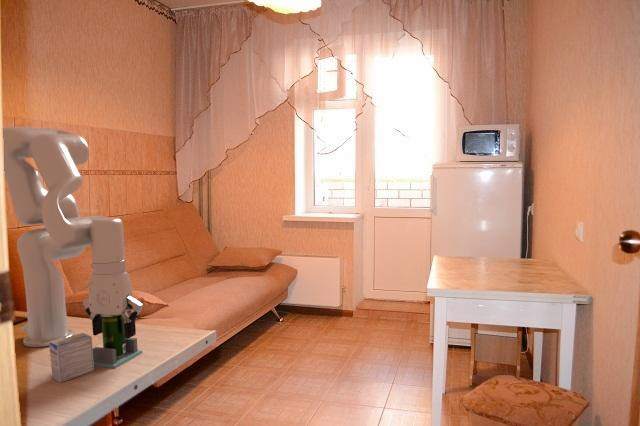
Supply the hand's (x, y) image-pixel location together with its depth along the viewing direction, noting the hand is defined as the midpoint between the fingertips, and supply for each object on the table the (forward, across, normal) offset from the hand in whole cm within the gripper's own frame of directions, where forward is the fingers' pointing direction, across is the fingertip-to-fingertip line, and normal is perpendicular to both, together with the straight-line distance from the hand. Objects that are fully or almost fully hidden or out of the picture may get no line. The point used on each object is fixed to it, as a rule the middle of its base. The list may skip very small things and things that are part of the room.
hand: (114, 335), depth 122 cm
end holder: (+6, 0, 0) cm, 6 cm away
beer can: (+6, 0, 0) cm, 6 cm away
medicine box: (+6, -3, -10) cm, 13 cm away
